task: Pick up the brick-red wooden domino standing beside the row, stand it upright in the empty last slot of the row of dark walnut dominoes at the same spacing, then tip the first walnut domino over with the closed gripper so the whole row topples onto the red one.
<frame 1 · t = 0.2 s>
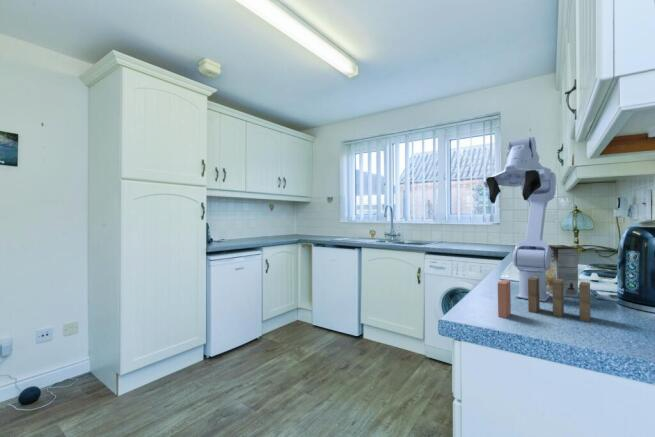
hand: (507, 198, 78), 31 cm above the worktop, tool tilted 45°, fingers open, 7 cm apart
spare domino: (504, 315, 82), on the worktop
domino 3: (534, 310, 86), on the worktop
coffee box: (560, 293, 103), on the worktop
domino 1: (585, 318, 78), on the worktop
domino 2: (558, 314, 82), on the worktop
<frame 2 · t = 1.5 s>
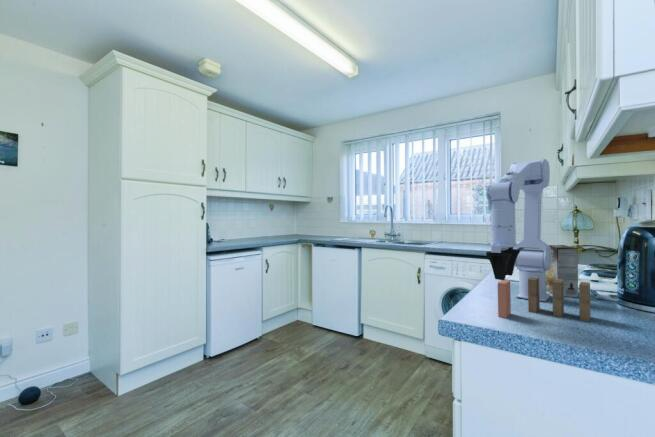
hand: (503, 277, 82), 10 cm above the worktop, tool pointing down, fingers open, 7 cm apart
nothing on the worktop moved.
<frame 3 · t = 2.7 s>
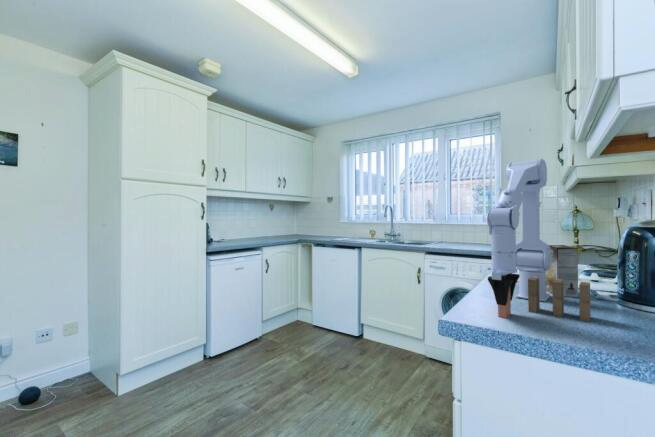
hand: (504, 302, 82), 3 cm above the worktop, tool pointing down, fingers closed on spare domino, 5 cm apart
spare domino: (504, 315, 82), on the worktop, touching gripper
everything else where it was.
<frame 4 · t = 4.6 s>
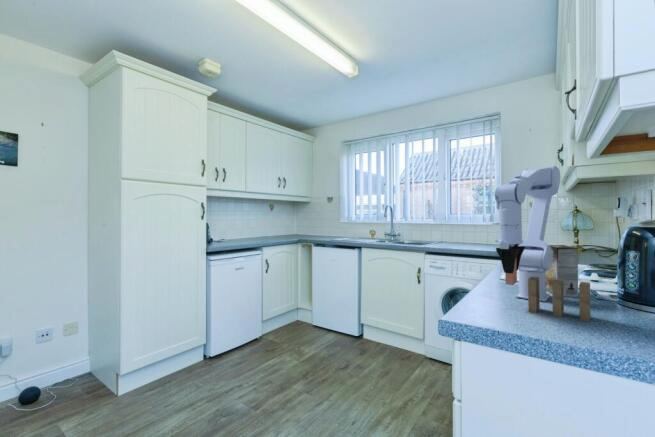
hand: (511, 271, 89), 10 cm above the worktop, tool pointing down, fingers closed on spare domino, 5 cm apart
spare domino: (511, 283, 89), point 7 cm above the worktop, touching gripper
everything else where it was.
when the fingers open (4 cm above the worktop, at t = 6.6 s): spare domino drops 1 cm, on the worktop.
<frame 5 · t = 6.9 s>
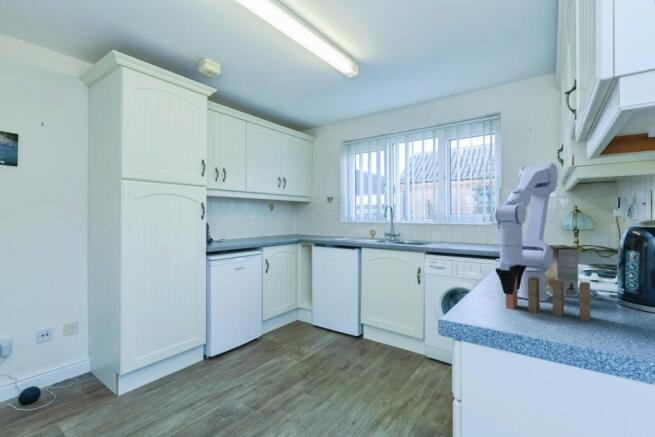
hand: (511, 291, 90), 4 cm above the worktop, tool pointing down, fingers open, 7 cm apart
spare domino: (511, 306, 90), on the worktop
everything else where it was.
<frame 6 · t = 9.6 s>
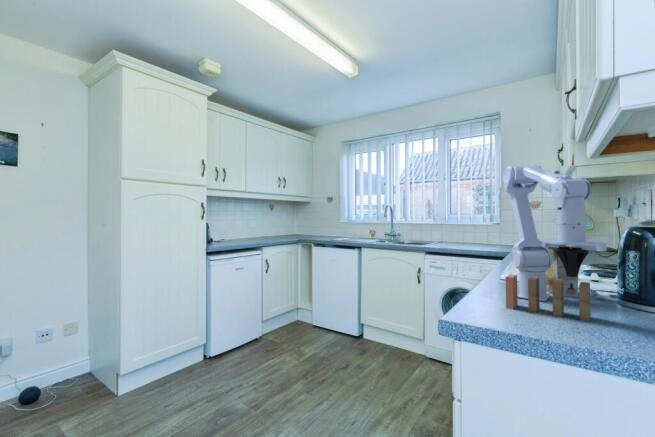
hand: (572, 276, 80), 11 cm above the worktop, tool pointing down, fingers closed
nothing on the worktop moved.
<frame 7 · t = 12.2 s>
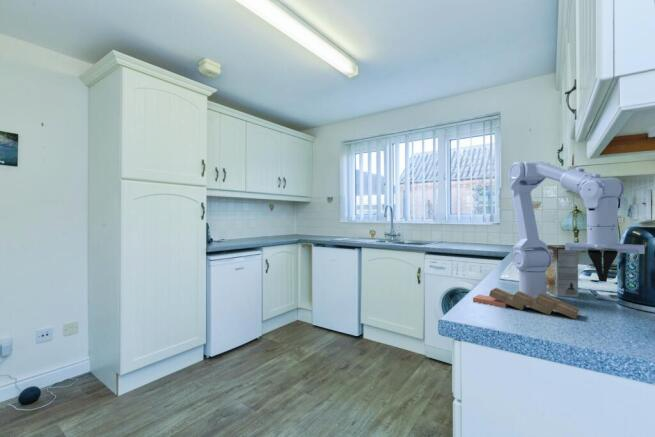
hand: (602, 280, 76), 10 cm above the worktop, tool pointing down, fingers closed
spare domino: (507, 304, 90), on the worktop, tilted 90°, touching domino 3
domino 3: (525, 305, 87), point 1 cm above the worktop, tilted 73°, touching domino 2, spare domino
domino 1: (577, 313, 79), point 1 cm above the worktop, tilted 71°, touching domino 2
domino 2: (552, 310, 83), point 1 cm above the worktop, tilted 73°, touching domino 1, domino 3
everything else where it was.
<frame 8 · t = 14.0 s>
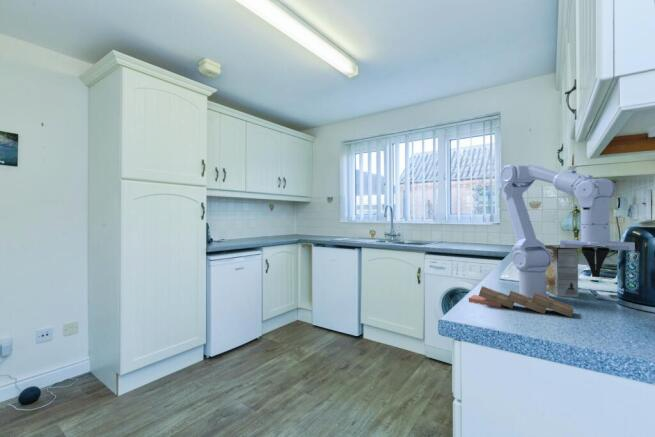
hand: (595, 276, 80), 10 cm above the worktop, tool pointing down, fingers closed
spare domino: (503, 304, 91), on the worktop, tilted 90°, touching domino 3
domino 3: (513, 303, 89), point 1 cm above the worktop, tilted 73°, touching domino 2, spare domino
domino 1: (572, 311, 81), point 1 cm above the worktop, tilted 73°, touching domino 2
domino 2: (545, 308, 84), point 1 cm above the worktop, tilted 73°, touching domino 1, domino 3
everything else where it was.
at the end: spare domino tilted 90°; domino 3 tilted 75°; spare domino inside the target area (2.4 cm from its centre), on the worktop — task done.
